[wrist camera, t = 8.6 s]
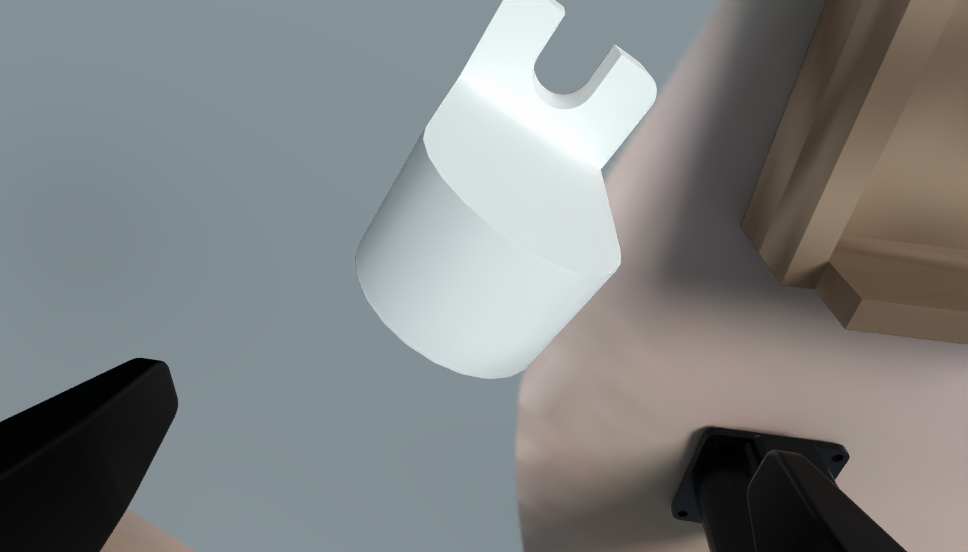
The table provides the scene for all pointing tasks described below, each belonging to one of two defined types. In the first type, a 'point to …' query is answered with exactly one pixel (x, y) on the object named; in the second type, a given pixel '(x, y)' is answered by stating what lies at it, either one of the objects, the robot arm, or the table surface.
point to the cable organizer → (503, 203)
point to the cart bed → (875, 170)
